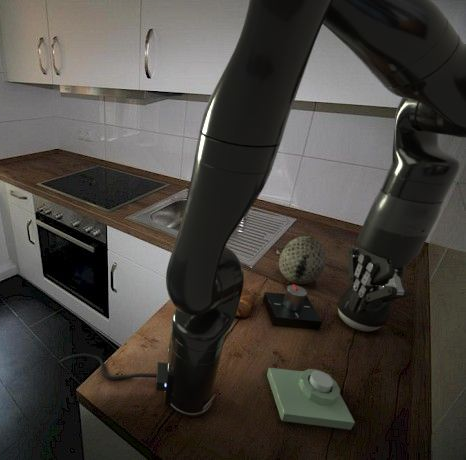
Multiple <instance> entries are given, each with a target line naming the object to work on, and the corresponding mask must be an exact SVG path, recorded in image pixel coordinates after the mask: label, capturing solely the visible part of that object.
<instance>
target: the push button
mask: <svg viewBox="0 0 466 460" xmlns="http://www.w3.org/2000/svg"><path fill="white" fill-rule="evenodd" d="M327 374H328V373H326V372H324V371H322V372H321V370H319V371H314V372H312V374H311V376H310V379H309V383H310V385H311V386H312V387H313V388H314V389H315V390H317V391H319V392H321V393H328V392H329V391H330V389H331V387H332V385H333V381H332V379H333V378H332V377H331V378H332V379H331V378H330V376H331V375H330V376H328V375H327Z"/></svg>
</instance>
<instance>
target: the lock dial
mask: <svg viewBox="0 0 466 460" xmlns="http://www.w3.org/2000/svg"><path fill="white" fill-rule="evenodd" d="M284 294H285V297H284V301H283V305H284V307H286V308H287V309H289V310H291V311H300V310H301V309H302V306H303V303H304V300H305V297H306V296H307V294H308V293H307V290H306V289H305V288H303V287H302V286H299V285H297V284H296V283H292V284H291V285H288V286H287V288H286V291H285V293H284Z"/></svg>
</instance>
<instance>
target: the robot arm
mask: <svg viewBox="0 0 466 460" xmlns="http://www.w3.org/2000/svg"><path fill="white" fill-rule="evenodd" d="M248 1H249V2H248V6H247V11H246V15H245V17H244V23H243V26H242V29H241V32H240V35H239V37H238V41H237V43H236V45H235V48H234V50H233V52H232V54H231V56H230V58H229V60H228V62H227V64H226V66H225V68H224V70H223V71H222V74H221V76H220V78H219V80H218V82H217V83H216V85H215V87H214V89H213V90H212V92H211V95H210V98H209V100H208V101H207V104H206V107H205V110H204V112H203V115H202V119H201V122H200V126H199V132H198V138H197V142H196V147H195V153H194V158H193V166H192V172H191V177H190V182H189V185H188V190H187V195H186V199H185V204H184V207H183V208H184V209H183V212H182V213H183V214H182V218H181V222H180V226H179V230H178V232H177V235H176V237H175V242H174V245H173V247H172V251H171V255H170V257H169V260H168V264H167V268H166V273H165V287H166V292H167V295H168V297H169V299H170V301H171V303H172V305H173V306H174V308H175V309H174V311H173V313H172V316H171V321H170V334H169V342H168V346H167V350H166V361H165V362H161V361H158V362H157V364H156V373H147V372H135V373H129V374H122V375H117V376H113V375H109V374H108V373H107V370H106V368H105V363H104V360H103V359H102V358H101V357H99V356H97V355H95V354H92V353H75V354H72V355H69V356H66V357H64V358H62V359H61V360H59V363H60V364H64V363H66V362H67V361H70V360H73V359H79V358H90V359H94V360H96V361H98V362H99V364H100V369H101V373H102V375H103V376H104V378H106V379H107V380H110V381H119V380H125V379H133V378H154V379H155V378H156V379H155V381H156V383H155V391H159V392H163V395H164V396H163V397H164V398H163V405H164V406H165V407H170V408H171V410H173V411H174V412H175V413H177V414H179V415H181V416H183V417H187V418H199V417H201V416H203V415H205V414H206V413H208V412H209V410H210V408H211V407H212V403H213V400H214V399H215V398H216V394H214V391H215V386H216V381H217V377H218V372H219V368H220V363H221V358H222V355H223V348H224V344H225V340H226V336H227V333H228V332H229V330H230V329H231V328H232V327H233V324H234V321H235V319H236V317H237V316H236V312H237V309H238V305H239V301H240V298H241V294H242V290H243V288H244V283H245V277H244V276H245V274H244V269H243V265H242V263H241V261H240V259H239V257H238V256H237V254H236V253H235V252H234V251H233V250H232V249H231V248H229V247H228V246H227V244H228V242H229V240H230V239H231V237H232V235H233V234H234V232H235V231H236V229H237V228H238V227H239V225H240V224H241V223H242V221H243V220H244V218H245V216H246V215H247V214H248V212H249V211H250V210H251V209H252V207H253V205H255V203H256V201H257V200H258V199H259V196H260V195H261V193H262V191H263V190H264V188H265V186H266V185H267V182H268V180H269V178H270V176H271V173H272V170H273V168H274V164H275V162H276V159H277V155H278V152H279V149H280V147H281V144H282V141H283V138H284V135H285V132H286V131H285V130H286V127H287V125H288V120H289V117H290V114H291V111H292V109H293V106H294V103H295V100H296V97H297V94H298V92H299V89H300V86H301V83H302V81H303V78H304V75H305V72H306V69H307V66H308V63H309V61H310V59H311V55H312V52H313V50H314V47H315V44H316V41H317V39H318V36H319V34H320V32H321V29H322V26H323V27H325V28H326V29H327V30H328V31H329V32H331V34H333V35H334V36H335V37H336V38H337V39H338V40H339V41H340V42H341V43H342V44H343V45H344V46H345V47H346V48H348V50H349V51H350V52H351V53H352V54H354V56H355V57H356V58H357V59H358V60H359V61H360V62H361V63H362V65H364V67H366V69H367V70H368V71H369V72H370V73H371V75H373V76H374V78H375V79H376V80H377V81H378V82H379V83H380V84H381V85H382V86H383V88H385V89H386V90H387V91H388V92H389V93H391V94H392V95H394V96H396V97H399V98H401V99H400V101H399V103H398V105H397V108H396V111H395V117H394V123H393V125H394V126H393V138H392V148H391V150H392V151H391V162H390V165H389V167H388V168H387V171H386V174H385V176H384V179H383V181H382V183H381V186H380V189H379V191H378V193H377V194H376V195H375V197H374V199H373V201H372V202H371V206H370V208H369V210H368V213H367V216H366V217H365V220H364V223H362V224H363V225H362V227H361V230H360V232H359V233H358V234H359V235H358V236H357V241H356V242H357V244H358V246H359V248H357V247H350V248H348V251H347V256H348V257H347V258H348V259H347V260H348V280H349V282H350V283H353V282H354V285H353V289H354V293H353V296H352V298H351V300H350V304H349V306H348V307H349V308H350V310H351V311H352V312H353V313H354V314H362V315H363V314H366V313H368V311H369V309H370V307H371V305H372V302H379V303H387V302H390V301H392V302H393V301H396V300H401V299H403V298H407V297H410V294H411V291H410V289H409V288H408V287H403V285H402V280H401V279H402V278H403V276H404V275H405V267H406V265H407V264H408V263H410V262H411V261H413V260H416V259H417V258H418V256H419V255H420V253H421V251H422V248H423V247H424V245H425V244H426V241H427V239H428V237H429V235H430V234H431V232H432V230H433V228H434V226H435V224H436V222H437V220H438V218H439V216H440V212H441V209H442V207H443V204H444V202H445V200H446V197H447V196H448V193H449V192H450V190H451V188H452V186H453V184H454V182H455V180H456V179H457V177H458V175H459V172H460V170H461V164H462V163H461V161H460V160H459V159H458V158H457V157H455V156H454V155H453V154H450V153H448V152H446V151H444V150H443V149H442V148H441V147H440V145H439V135H445V136H448V137H455V138H461V139H466V43H465V42H463V41H462V39H461V37H460V34H458V31H457V30H456V29H455V28H454V26H453V25H452V24H451V22H450V21H449V19H448V18H447V16H446V14H445V13H444V12H443V11H442V10H441V9H440V7H439V6H438V5H437V4H436V3H435V2H434V1H433V0H248Z"/></svg>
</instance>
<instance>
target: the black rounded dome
mask: <svg viewBox="0 0 466 460" xmlns="http://www.w3.org/2000/svg"><path fill="white" fill-rule="evenodd" d="M353 285H354V282H351V284H350V285H349V286H348V287H347V288H346V289H345V290H344V292H343V293H342V295H341V296H340V297H339V300H338V301H337V310H338V315H339V317H340V319H341V320H342V322H344V323H345V324H346V325H347V326H348V327H350V328H352V329H355V330H357V331H361V332H374V331H377V330H378V329H379V330H380V328H382V327H383V326H385V325H386V324H387V323H388V320H389V317H390V314H391V309H392V302H393V301H390V302H387V303H379V302H372V305H371V307H370V309H369V311H368V313H366V314H363V315H362V314H354V313H353V312H352V311H351V310H350V308H349V307H348V306H349V304H350V300H351V298H352V296H353V293H354V289H353Z"/></svg>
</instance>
